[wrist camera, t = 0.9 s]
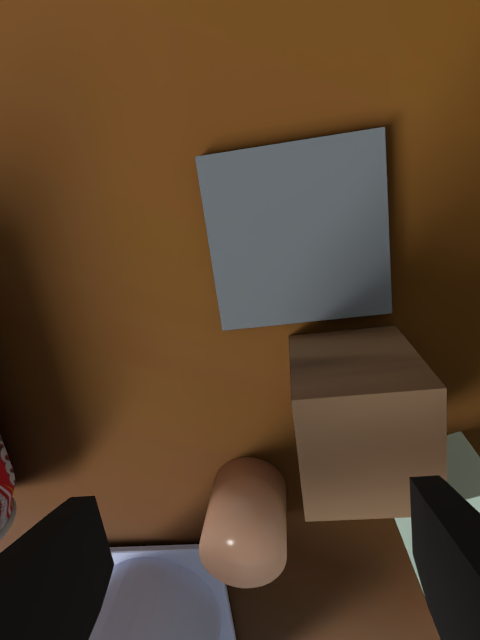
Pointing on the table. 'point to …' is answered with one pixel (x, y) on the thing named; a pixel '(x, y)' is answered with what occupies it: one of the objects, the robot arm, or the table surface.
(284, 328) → the table surface
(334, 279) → the slate coaster
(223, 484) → the pinkish brown rounded cylinder
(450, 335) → the table surface
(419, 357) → the walnut block
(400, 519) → the pale green cube
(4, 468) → the soda can
